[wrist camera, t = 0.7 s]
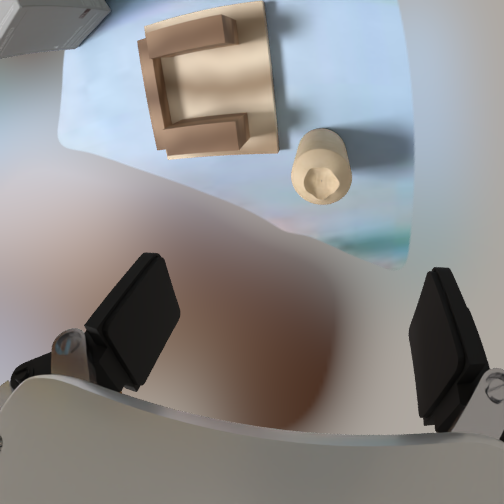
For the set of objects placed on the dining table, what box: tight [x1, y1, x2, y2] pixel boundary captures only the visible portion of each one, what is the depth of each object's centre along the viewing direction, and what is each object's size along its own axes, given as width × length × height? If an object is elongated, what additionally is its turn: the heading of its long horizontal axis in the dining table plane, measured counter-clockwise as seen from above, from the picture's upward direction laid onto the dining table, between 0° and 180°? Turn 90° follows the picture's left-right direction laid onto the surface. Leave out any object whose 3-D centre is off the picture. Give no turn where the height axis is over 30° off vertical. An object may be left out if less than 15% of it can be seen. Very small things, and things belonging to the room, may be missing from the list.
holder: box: [137, 1, 279, 160], centre depth 28 cm, size 18×14×6 cm
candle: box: [291, 128, 352, 205], centre depth 29 cm, size 6×6×10 cm
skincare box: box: [0, 0, 111, 59], centre depth 19 cm, size 8×7×16 cm
